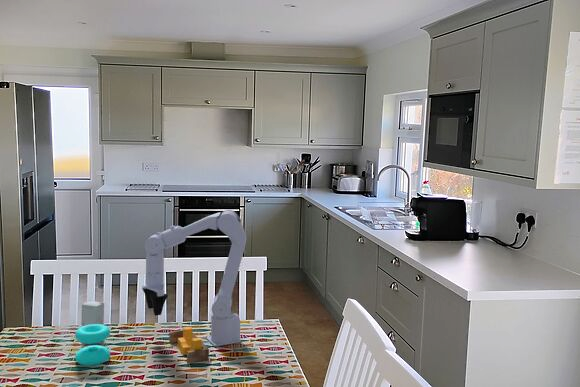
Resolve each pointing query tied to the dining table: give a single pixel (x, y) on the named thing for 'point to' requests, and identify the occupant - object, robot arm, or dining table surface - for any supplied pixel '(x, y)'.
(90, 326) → the donuts
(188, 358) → the bracket
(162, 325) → the dining table surface
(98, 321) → the skincare box
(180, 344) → the pipe clamp
